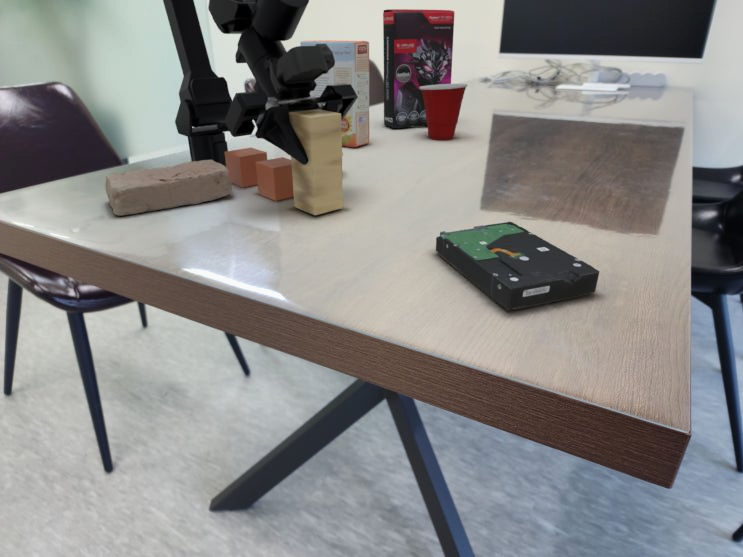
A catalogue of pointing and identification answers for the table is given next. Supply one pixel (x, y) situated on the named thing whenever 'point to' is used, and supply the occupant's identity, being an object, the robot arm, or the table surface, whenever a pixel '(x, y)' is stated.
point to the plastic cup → (442, 108)
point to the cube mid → (275, 178)
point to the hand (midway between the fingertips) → (322, 159)
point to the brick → (167, 187)
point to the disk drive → (516, 265)
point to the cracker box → (355, 72)
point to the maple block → (318, 161)
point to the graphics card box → (414, 61)
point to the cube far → (244, 165)
